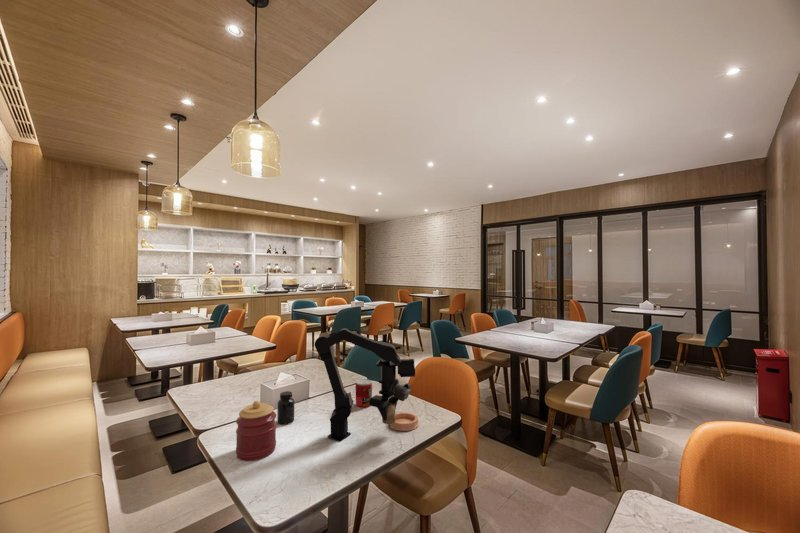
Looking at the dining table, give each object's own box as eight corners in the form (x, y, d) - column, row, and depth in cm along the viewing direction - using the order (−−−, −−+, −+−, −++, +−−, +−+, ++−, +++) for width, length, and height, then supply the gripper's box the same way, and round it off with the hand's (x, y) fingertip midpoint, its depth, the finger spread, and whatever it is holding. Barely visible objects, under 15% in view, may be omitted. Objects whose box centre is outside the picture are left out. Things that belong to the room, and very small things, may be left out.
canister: (264, 439, 126) (264, 391, 127) (283, 450, 118) (283, 399, 119) (228, 453, 116) (229, 402, 117) (246, 466, 108) (247, 411, 109)
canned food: (364, 409, 154) (364, 385, 154) (352, 405, 159) (352, 381, 159) (375, 404, 160) (375, 381, 160) (363, 400, 165) (363, 378, 165)
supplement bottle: (273, 423, 140) (273, 394, 140) (286, 417, 146) (286, 389, 146) (285, 426, 137) (285, 396, 137) (297, 420, 143) (298, 391, 143)
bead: (390, 425, 126) (390, 408, 126) (379, 422, 128) (379, 406, 128) (397, 420, 130) (397, 404, 130) (386, 417, 133) (386, 402, 133)
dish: (410, 433, 130) (410, 426, 130) (384, 426, 136) (384, 420, 136) (423, 421, 140) (423, 415, 141) (398, 416, 146) (398, 410, 146)
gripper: (394, 387, 118) (394, 432, 117) (417, 373, 134) (418, 413, 133) (368, 382, 123) (368, 425, 123) (393, 370, 139) (394, 407, 139)
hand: (388, 417), depth 129 cm, fingers closed on bead, 5 cm apart
